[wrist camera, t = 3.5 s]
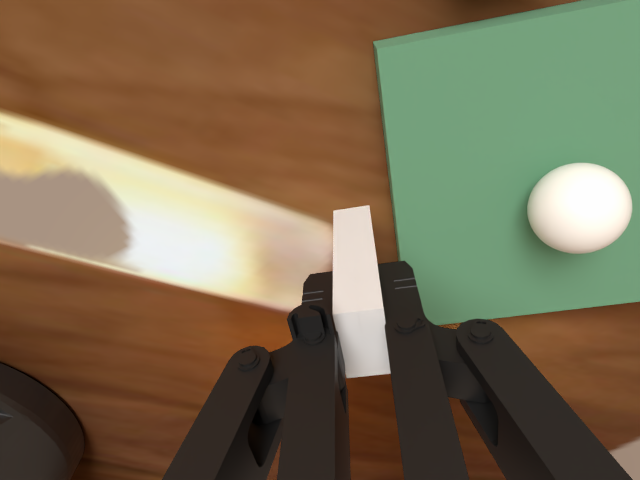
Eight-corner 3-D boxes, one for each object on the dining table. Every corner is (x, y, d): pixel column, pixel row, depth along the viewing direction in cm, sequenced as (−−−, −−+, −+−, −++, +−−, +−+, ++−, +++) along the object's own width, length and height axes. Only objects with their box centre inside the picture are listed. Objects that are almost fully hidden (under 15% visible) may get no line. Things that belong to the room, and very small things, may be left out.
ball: (513, 230, 20) (544, 277, 17) (516, 157, 19) (552, 194, 15) (596, 219, 20) (644, 264, 17) (607, 142, 18) (663, 178, 15)
